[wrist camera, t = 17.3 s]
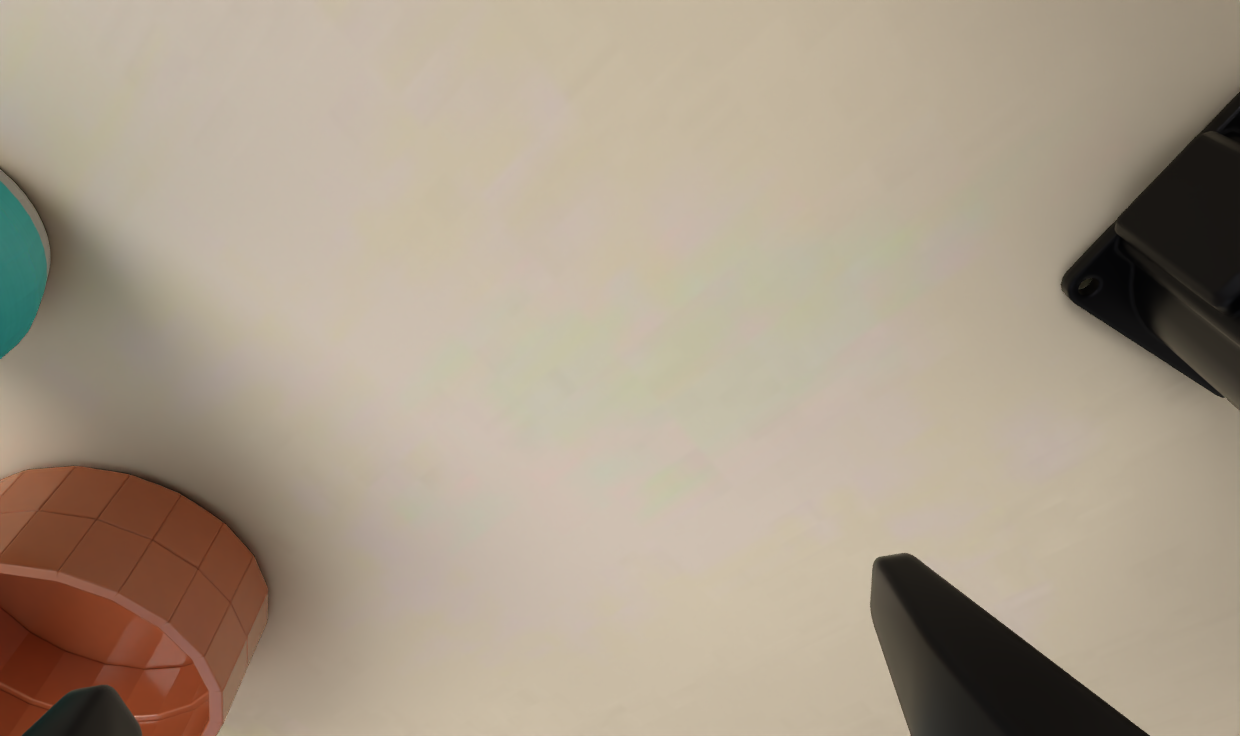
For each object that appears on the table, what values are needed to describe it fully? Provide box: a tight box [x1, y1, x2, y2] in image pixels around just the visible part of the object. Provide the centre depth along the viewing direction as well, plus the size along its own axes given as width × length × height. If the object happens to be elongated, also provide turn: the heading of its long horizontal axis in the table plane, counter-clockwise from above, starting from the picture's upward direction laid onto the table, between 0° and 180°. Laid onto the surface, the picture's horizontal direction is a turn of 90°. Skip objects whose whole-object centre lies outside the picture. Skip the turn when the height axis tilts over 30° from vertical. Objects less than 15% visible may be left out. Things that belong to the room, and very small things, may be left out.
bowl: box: [0, 466, 268, 736], centre depth 25 cm, size 9×9×4 cm
